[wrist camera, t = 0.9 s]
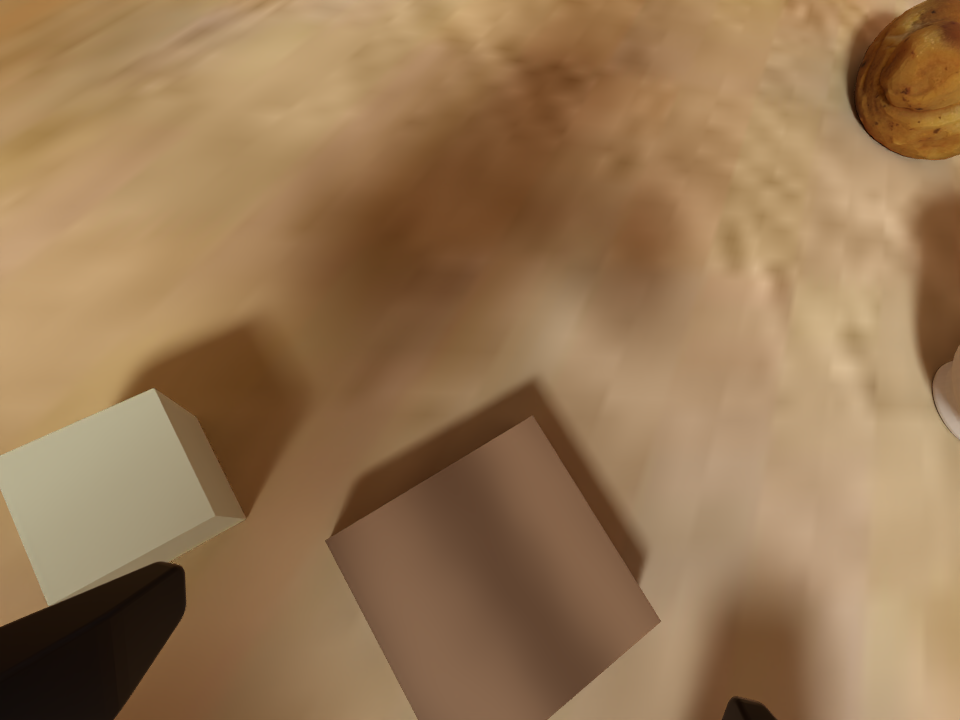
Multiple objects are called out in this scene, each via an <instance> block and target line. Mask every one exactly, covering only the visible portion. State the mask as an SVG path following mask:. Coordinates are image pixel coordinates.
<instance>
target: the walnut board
mask: <svg viewBox="0 0 960 720" xmlns="http://www.w3.org/2000/svg"><path fill="white" fill-rule="evenodd" d="M325 541H326V543H327V545H328V547H329V549H330V551H331V553H332V555H333V557H334V559H335V561H336V563H337V565H338V566H339V568H340V570H341V572H342V574H343V576H344V578H345V580H346V582H347V584H348V586H349V588H350V590H351V591H352V593H353V595H354V597H355V599H356V601H357V603H358V605H359V607H360V609H361V611H362V613H363V615H364V616H365V618H366V620H367V622H368V624H369V626H370V628H371V630H372V632H373V634H374V636H375V638H376V640H377V641H378V643H379V645H380V647H381V649H382V651H383V653H384V655H385V657H386V659H387V661H388V663H389V665H390V667H391V668H392V670H393V672H394V674H395V676H396V678H397V680H398V682H399V684H400V686H401V688H402V690H403V692H404V693H405V695H406V697H407V699H408V701H409V703H410V705H411V707H412V709H413V711H414V713H415V715H416V717H417V718H418V720H547V719H548V718H550V717H551V716H552V715H553V714H554V713H555V712H557V711H558V710H559V709H560V708H561V707H562V706H564V705H565V704H566V703H567V702H568V701H569V700H570V699H572V698H573V697H574V696H575V695H576V694H577V693H579V692H580V691H581V690H582V689H583V688H584V687H586V686H587V685H588V684H589V683H590V682H591V681H593V680H594V679H595V678H596V677H597V676H598V675H599V674H601V673H602V672H603V671H604V670H605V669H606V668H608V667H609V666H610V665H611V664H612V663H613V662H615V661H616V660H617V659H618V658H619V657H620V656H622V655H623V654H624V653H625V652H626V651H627V650H628V649H630V648H631V647H632V646H633V645H634V644H635V643H637V642H638V641H639V640H640V639H641V638H642V637H644V636H645V635H646V634H647V633H648V632H649V631H650V630H652V629H653V628H654V627H655V626H656V625H657V624H659V623H660V622H661V620H660V619H659V617H658V616H657V614H656V612H655V611H654V609H653V608H652V606H651V604H650V603H649V601H648V600H647V598H646V596H645V595H644V593H643V592H642V590H641V588H640V587H639V585H638V584H637V582H636V580H635V579H634V577H633V575H632V574H631V572H630V571H629V569H628V567H627V566H626V564H625V563H624V561H623V559H622V558H621V556H620V555H619V553H618V551H617V550H616V548H615V547H614V545H613V543H612V542H611V540H610V539H609V537H608V535H607V534H606V532H605V530H604V529H603V527H602V526H601V524H600V522H599V521H598V519H597V518H596V516H595V514H594V513H593V511H592V510H591V508H590V506H589V505H588V503H587V502H586V500H585V498H584V497H583V495H582V494H581V492H580V490H579V489H578V487H577V485H576V484H575V482H574V481H573V479H572V477H571V476H570V474H569V473H568V471H567V469H566V468H565V466H564V465H563V463H562V461H561V460H560V458H559V457H558V455H557V453H556V452H555V450H554V449H553V447H552V445H551V444H550V442H549V440H548V439H547V437H546V436H545V434H544V432H543V431H542V429H541V428H540V426H539V424H538V423H537V421H536V420H535V418H534V416H533V415H532V416H531V417H529V418H527V419H526V420H524V421H522V422H521V423H519V424H517V425H516V426H514V427H513V428H511V429H509V430H508V431H506V432H504V433H503V434H501V435H499V436H498V437H496V438H494V439H493V440H491V441H489V442H488V443H486V444H484V445H483V446H481V447H479V448H478V449H476V450H474V451H473V452H471V453H469V454H468V455H466V456H464V457H463V458H461V459H459V460H458V461H456V462H454V463H453V464H451V465H450V466H448V467H446V468H445V469H443V470H441V471H440V472H438V473H436V474H435V475H433V476H431V477H430V478H428V479H426V480H425V481H423V482H421V483H420V484H418V485H416V486H415V487H413V488H411V489H410V490H408V491H406V492H405V493H403V494H401V495H400V496H398V497H396V498H395V499H393V500H391V501H390V502H388V503H387V504H385V505H383V506H382V507H380V508H378V509H377V510H375V511H373V512H372V513H370V514H368V515H367V516H365V517H363V518H362V519H360V520H358V521H357V522H355V523H353V524H352V525H350V526H348V527H347V528H345V529H343V530H342V531H340V532H338V533H337V534H335V535H333V536H332V537H330V538H328V539H327V540H325Z"/></svg>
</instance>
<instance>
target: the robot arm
mask: <svg viewBox="0 0 960 720" xmlns="http://www.w3.org/2000/svg"><path fill="white" fill-rule="evenodd" d="M185 608H186V588H185V572H184V569H183V568H182V566H180V565H176V564H172V563H168V562H163V561H159V562H155V563H152V564H150V565H147V566H145V567H142V568H140V569H138V570H135V571H133V572H131V573H128V574H126V575H123V576H121V577H119V578H116V579H114V580H111V581H109V582H107V583H104V584H102V585H99V586H97V587H95V588H92V589H90V590H88V591H85V592H83V593H80V594H78V595H76V596H73V597H71V598H68V599H66V600H64V601H61V602H59V603H56V604H54V605H52V606H49V607H47V608H45V609H42V610H40V611H37V612H35V613H33V614H30V615H28V616H25V617H23V618H21V619H18V620H16V621H13V622H11V623H9V624H6V625H4V626H2V627H0V720H114V718H115V717H116V716H117V714H118V713H119V712H120V710H121V709H122V708H123V706H124V705H125V703H126V702H127V700H128V699H129V698H130V696H131V695H132V693H133V692H134V690H135V689H136V687H137V686H138V684H139V682H140V681H141V679H142V678H143V676H144V675H145V673H146V672H147V670H148V669H149V667H150V666H151V664H152V663H153V661H154V660H155V658H156V657H157V655H158V654H159V652H160V651H161V649H162V648H163V646H164V645H165V643H166V642H167V640H168V639H169V637H170V636H171V634H172V633H173V631H174V630H175V628H176V626H177V625H178V623H179V622H180V620H181V619H182V616H183V614H184V611H185ZM722 720H777V719H776V718H775V717H774V716H773V714H772V713H771V712H770V711H769V710H768V709H767V708H766V707H765V706H764V705H763V704H762V703H760V702H758V701H754V700H750V699H746V698H742V697H737V696H736V697H732V698H731V699H730V701H729V702H728V705H727V708H726V710H725V713H724V716H723V718H722Z"/></svg>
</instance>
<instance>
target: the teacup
mask: <svg viewBox="0 0 960 720" xmlns="http://www.w3.org/2000/svg"><path fill="white" fill-rule="evenodd" d="M933 396H934V401H935V404H936V407H937V410H938V412H939V414H940V416H941V418H942V420H943V422H944V423H945V425H946V426H947V427H948V429H949V430H950V431H951V432H952V433H953V434H954V435H955V436H956V437H957V438H958V439H960V345H959V347H958V349H957V350H956V353H955V356H954V359H953V361H950V362H948V363H946V364H944V365H942V366H941V367H940V368H939V370H938V371H937V373H936V374H935V377H934V381H933Z"/></svg>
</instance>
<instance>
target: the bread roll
mask: <svg viewBox="0 0 960 720" xmlns="http://www.w3.org/2000/svg"><path fill="white" fill-rule="evenodd" d="M854 97H855V103H856V109H857V113H858V115H859V117H860V120H861V121H862V123H863V125H864V127H865V129H866V131H867V132H868V133H869V134H870V135H871V136H872V137H873V138H874V139H875V140H876V141H878V142H879V143H881V144H882V145H884V146H885V147H887V148H888V149H890V150H892V151H894V152H897V153H899V154H901V155H903V156H906V157H911V158H915V159H928V160H941V159H947V158H950V157H953V156H956V155H959V154H960V0H927V1H924V2H922V3H920V4H918V5H916V6H914V7H912V8H911V9H909V10H907V11H905V12H904V13H903V14H902V15H901V16H899V17H898V18H895V19H894V20H893V21H892V22H891V23H890V24H889V25H888V26H886V27H885V28H884V29H883V30H882V31H881V32H880V34H879V35H878V36H877V37H876V38H875V40H874V42H873V43H872V44H871V45H870V47H869V48H868V50H867V51H866V54H865V56H864V58H863V61H862V64H861V66H860V68H859V71H858V75H857V81H856V86H855V91H854Z"/></svg>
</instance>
